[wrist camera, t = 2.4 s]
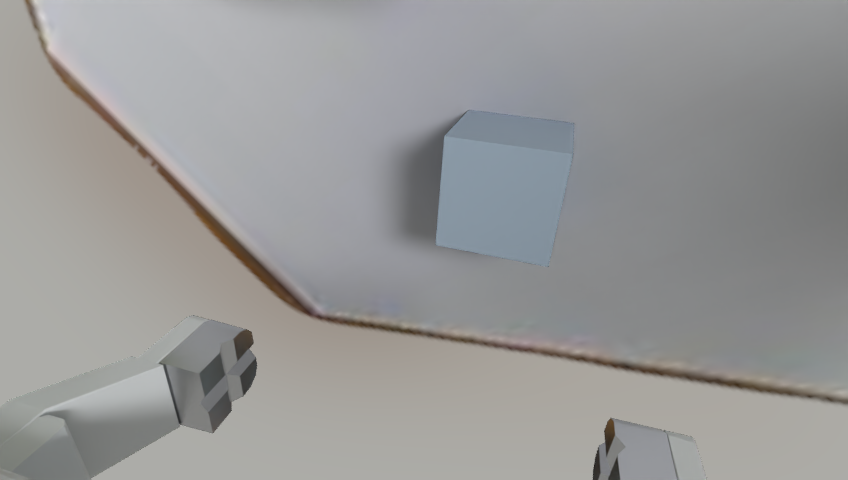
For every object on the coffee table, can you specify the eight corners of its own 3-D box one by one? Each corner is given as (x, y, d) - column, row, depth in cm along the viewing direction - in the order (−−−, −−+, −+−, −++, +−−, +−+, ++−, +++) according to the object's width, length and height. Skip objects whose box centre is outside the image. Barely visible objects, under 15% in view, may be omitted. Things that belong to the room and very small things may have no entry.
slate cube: (574, 122, 22) (573, 154, 18) (553, 218, 24) (548, 267, 20) (469, 109, 23) (444, 136, 19) (459, 202, 25) (435, 245, 21)
